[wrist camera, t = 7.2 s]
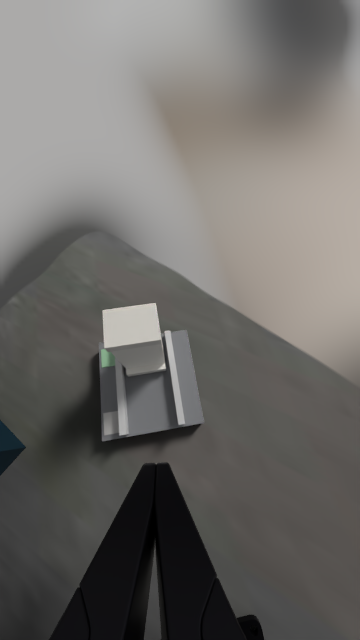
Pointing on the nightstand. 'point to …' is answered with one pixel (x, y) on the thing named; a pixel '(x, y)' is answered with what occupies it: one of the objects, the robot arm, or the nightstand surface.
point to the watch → (8, 447)
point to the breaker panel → (149, 392)
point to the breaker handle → (134, 338)
